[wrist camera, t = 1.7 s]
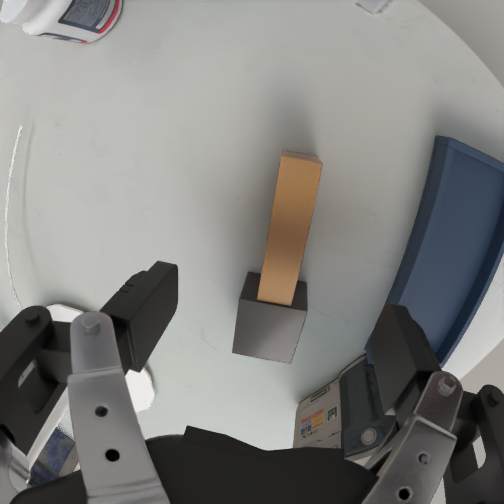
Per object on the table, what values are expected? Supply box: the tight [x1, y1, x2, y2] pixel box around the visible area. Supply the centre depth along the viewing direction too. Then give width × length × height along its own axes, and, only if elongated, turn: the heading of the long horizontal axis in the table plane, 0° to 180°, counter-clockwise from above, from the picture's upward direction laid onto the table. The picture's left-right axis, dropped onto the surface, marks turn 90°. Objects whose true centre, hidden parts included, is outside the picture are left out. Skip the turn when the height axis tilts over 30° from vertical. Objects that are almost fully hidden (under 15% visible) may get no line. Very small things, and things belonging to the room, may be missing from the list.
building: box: [27, 428, 79, 488], centre depth 43 cm, size 23×24×23 cm
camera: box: [293, 355, 397, 466], centre depth 21 cm, size 11×6×10 cm, turn 142°
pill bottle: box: [0, 0, 122, 44], centre depth 10 cm, size 5×5×9 cm
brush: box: [232, 151, 322, 363], centre depth 19 cm, size 14×4×4 cm, turn 172°
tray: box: [365, 136, 504, 368], centre depth 18 cm, size 18×8×2 cm, turn 172°
